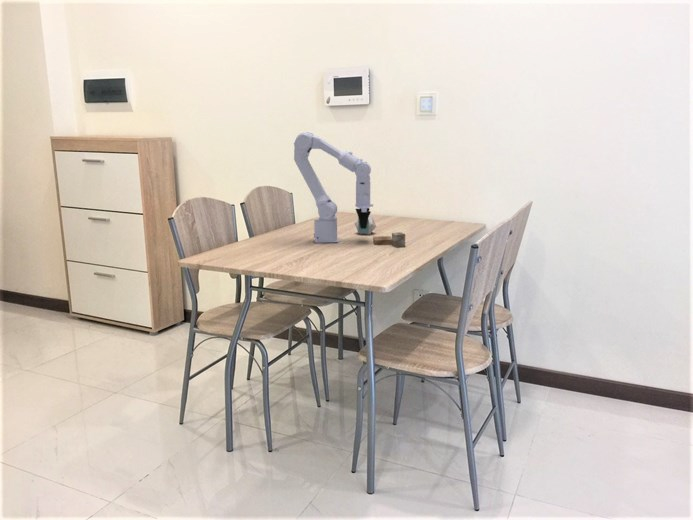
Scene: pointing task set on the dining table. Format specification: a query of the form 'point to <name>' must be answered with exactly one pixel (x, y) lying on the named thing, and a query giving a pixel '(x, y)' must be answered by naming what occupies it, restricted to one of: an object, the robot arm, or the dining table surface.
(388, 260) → the dining table surface
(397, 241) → the grey block
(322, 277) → the dining table surface
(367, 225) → the teal block
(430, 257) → the dining table surface
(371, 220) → the die
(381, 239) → the walnut slab
